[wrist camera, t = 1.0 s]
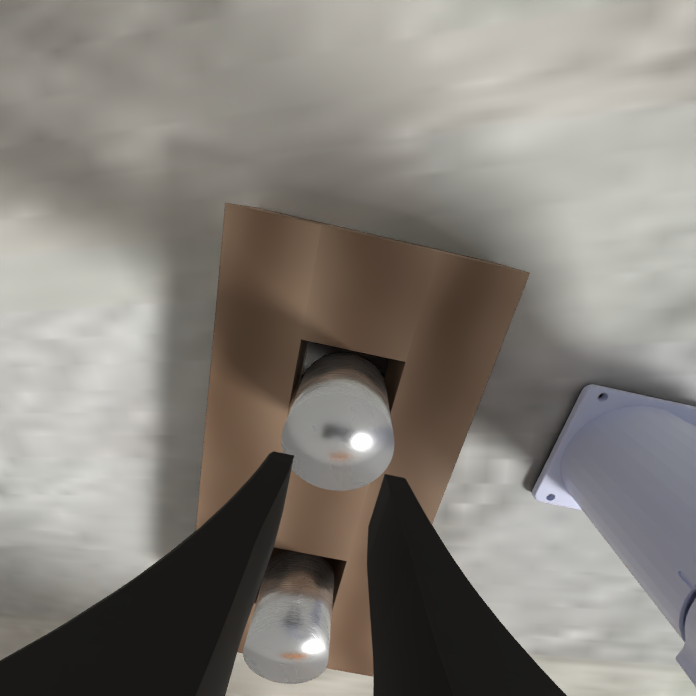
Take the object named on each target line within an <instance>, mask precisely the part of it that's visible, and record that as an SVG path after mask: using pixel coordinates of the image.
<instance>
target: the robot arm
mask: <svg viewBox="0 0 696 696" xmlns="http://www.w3.org/2000/svg"><path fill="white" fill-rule="evenodd" d="M602 393H603V396H602V397H600V398H598V396H599V395H600V394H602ZM293 459H294V455H289V454H284V453H279V452H275V451H273V452H271V453H270V454H269V455H268V456H267V457H266V459H265V460H264V462H263V463H262V464H261V465H260V467H259V468H258V469H257V470H256V472H255V473H254V474H253V475H252V476H251V477H250V478H249V480H248V481H247V482H246V483H245V484H244V485H243V486H242V487H241V488H240V489H239V490H238V491H237V492H236V493H235V495H234V496H233V497H232V498H231V499H230V500H229V501H228V502H227V503H226V504H225V505H224V506H222V507H221V508H220V509H219V510H218V511H217V512H216V513H215V514H214V515H213V516H212V517H211V518H210V519H209V520H208V521H206V522H205V523H204V524H203V525H202V526H201V527H200V528H199V529H197V530H196V531H195V532H194V533H193V534H192V535H190V536H189V537H188V538H187V539H186V540H184V541H183V542H182V543H181V544H179V545H178V546H177V547H176V548H174V549H173V550H172V551H171V552H169V553H168V554H167V555H166V556H164V557H163V558H162V559H160V560H159V561H157V562H156V563H155V564H153V565H152V566H151V567H149V568H148V569H147V570H145V571H144V572H143V573H141V574H140V575H139V576H137V577H136V578H134V579H133V580H131V581H130V582H128V583H127V584H126V585H124V586H123V587H121V588H120V589H118V590H117V591H115V592H114V593H112V594H111V595H109V596H107V597H106V598H104V599H103V600H101V601H100V602H98V603H96V604H95V605H93V606H92V607H90V608H89V609H87V610H86V611H84V612H82V613H81V614H79V615H78V616H76V617H75V618H73V619H71V620H70V621H68V622H67V623H65V624H63V625H62V626H60V627H58V628H57V629H55V630H53V631H52V632H50V633H48V634H47V635H45V636H43V637H41V638H40V639H38V640H36V641H34V642H32V643H31V644H29V645H27V646H25V647H24V648H22V649H20V650H18V651H17V652H15V653H13V654H11V655H10V656H8V657H6V658H4V659H2V660H1V661H0V696H225V694H226V690H227V687H228V683H229V679H230V676H231V672H232V669H233V665H234V661H235V658H236V654H237V651H238V648H239V645H240V642H241V639H242V635H243V632H244V630H245V627H246V624H247V621H248V618H249V616H250V613H251V610H252V607H253V604H254V602H255V599H256V596H257V593H258V590H259V588H260V585H261V582H262V579H263V576H264V574H265V571H266V568H267V565H268V562H269V559H270V557H271V554H272V551H273V548H274V545H275V541H276V537H277V533H278V529H279V525H280V521H281V518H282V514H283V510H284V504H285V499H286V494H287V489H288V484H289V479H290V474H291V469H292V464H293ZM549 494H551V495H549ZM532 495H533V496H534V498H535V499H536V500H537V501H540V502H545V503H549V504H554V505H559V506H564V507H569V508H574V509H579V510H583V512H584V513H585V514H586V516H587V517H588V518H589V519H590V521H591V522H592V523H593V525H594V526H595V527H596V528H597V530H598V531H599V532H600V534H601V535H602V536H603V537H604V539H605V540H606V541H607V543H608V544H609V545H610V547H611V548H612V549H613V550H614V552H615V553H616V554H617V556H618V557H619V558H620V559H621V561H622V562H623V563H624V565H625V566H626V567H627V568H628V570H629V571H630V572H631V574H632V575H633V576H634V578H635V579H636V580H637V581H638V583H639V584H640V585H641V587H642V588H643V589H644V590H645V592H646V593H647V594H648V596H649V597H650V598H651V599H652V601H653V602H654V603H655V605H656V606H657V607H658V609H659V610H660V611H661V612H662V614H663V615H664V616H665V618H666V619H667V620H668V621H669V623H670V624H671V625H672V627H673V628H674V629H675V630H676V632H677V633H678V634H679V636H680V637H681V638H682V640H683V641H684V642H685V644H684V647H683V648H682V650H681V651H680V653H679V654H678V655H677V656H676V660H677V662H678V663H679V664H680V666H681V667H682V669H683V670H684V671H685V673H686V674H687V675H688V677H689V678H690V680H691V681H692V682H693V684H694V685H695V686H696V407H695V406H691V405H686V404H681V403H677V402H672V401H668V400H663V399H659V398H654V397H649V396H645V395H640V394H636V393H631V392H627V391H622V390H617V389H613V388H608V387H604V386H599V385H595V384H590V385H587V386H586V387H584V388H583V390H582V391H581V393H580V395H579V397H578V399H577V401H576V403H575V405H574V407H573V409H572V411H571V413H570V415H569V417H568V419H567V421H566V423H565V426H564V428H563V430H562V432H561V434H560V436H559V438H558V440H557V442H556V444H555V446H554V448H553V450H552V452H551V454H550V456H549V458H548V460H547V462H546V464H545V466H544V468H543V470H542V472H541V474H540V476H539V478H538V480H537V482H536V484H535V486H534V488H533V490H532ZM547 495H549V496H547ZM367 575H368V591H369V606H370V621H371V635H372V650H373V673H374V696H567V695H566V694H565V693H564V692H563V691H562V690H561V689H560V688H559V687H558V686H557V685H556V684H555V683H554V682H553V681H552V680H551V679H550V677H549V676H548V675H547V674H546V673H545V672H544V671H543V670H542V669H541V668H540V667H539V666H538V665H537V663H536V662H535V661H534V660H533V659H532V658H531V657H530V656H529V654H528V653H527V652H526V651H525V650H524V649H523V648H522V647H521V645H520V644H519V643H518V642H517V641H516V640H515V639H514V637H513V636H512V635H511V634H510V633H509V632H508V630H507V629H506V628H505V627H504V626H503V624H502V623H501V622H500V621H499V620H498V618H497V617H496V616H495V615H494V613H493V612H492V611H491V609H490V608H489V607H488V606H487V604H486V603H485V602H484V601H483V599H482V598H481V597H480V596H479V594H478V593H477V592H476V590H475V589H474V588H473V586H472V585H471V584H470V582H469V581H468V579H467V578H466V577H465V575H464V574H463V572H462V571H461V569H460V568H459V566H458V565H457V564H456V562H455V561H454V559H453V558H452V556H451V555H450V553H449V552H448V550H447V548H446V547H445V545H444V544H443V542H442V540H441V539H440V537H439V536H438V534H437V532H436V531H435V529H434V527H433V526H432V524H431V522H430V521H429V519H428V517H427V516H426V514H425V512H424V510H423V509H422V507H421V505H420V503H419V502H418V500H417V498H416V496H415V494H414V493H413V491H412V489H411V487H410V485H409V484H408V482H407V480H406V479H405V478H403V477H398V476H393V475H388V474H385V475H384V478H383V481H382V484H381V488H380V491H379V494H378V497H377V500H376V504H375V507H374V510H373V513H372V517H371V520H370V523H369V526H368V545H367Z"/></svg>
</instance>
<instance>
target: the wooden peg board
mask: <svg viewBox="0 0 696 696" xmlns="http://www.w3.org/2000/svg"><path fill="white" fill-rule="evenodd" d="M529 274H530V273H528V272H525V271H521V270H518V269H514V268H511V267H508V266H504V265H501V264H497V263H494V262H490V261H485V260H481V259H477V258H472V257H468V256H464V255H459V254H455V253H451V252H446V251H442V250H438V249H433V248H429V247H425V246H420V245H416V244H412V243H407V242H403V241H399V240H394V239H390V238H386V237H381V236H377V235H373V234H368V233H364V232H360V231H355V230H351V229H346V228H342V227H338V226H333V225H329V224H325V223H320V222H316V221H312V220H307V219H303V218H299V217H294V216H290V215H286V214H281V213H277V212H273V211H268V210H264V209H260V208H255V207H249V206H242V205H236V204H229V203H225V214H224V225H223V236H222V247H221V258H220V269H219V280H218V291H217V302H216V313H215V324H214V335H213V346H212V357H211V368H210V379H209V390H208V401H207V412H206V423H205V434H204V445H203V456H202V467H201V478H200V489H199V500H198V511H197V522H196V530H197V529H199V528H200V527H201V526H202V525H203V524H204V523H205V522H206V521H208V520H209V519H210V518H211V517H212V516H213V515H214V514H215V513H216V512H217V511H218V510H219V509H220V508H221V507H222V506H224V505H225V504H226V503H227V502H228V501H229V500H230V499H231V498H232V497H233V496H234V495H235V493H236V492H237V491H238V490H239V489H240V488H241V487H242V486H243V485H244V484H245V483H246V482H247V481H248V480H249V478H250V477H251V476H252V475H253V474H254V473H255V472H256V470H257V469H258V468H259V467H260V465H261V464H262V463H263V462H264V460H265V459H266V457H267V456H268V455H269V454H270V453H271V452H273V451H275V452H279V453H283V450H282V443H281V438H282V432H283V428H284V425H285V422H286V420H287V417H288V414H289V412H290V409H291V407H292V404H293V401H294V399H295V396H296V393H297V391H298V388H299V385H300V382H301V377H302V372H303V366H304V361H305V356H306V350H307V345H308V341H311V342H316V343H320V344H325V345H329V346H334V347H339V348H343V349H348V350H352V351H357V352H362V353H366V354H371V355H376V356H380V357H385V358H389V359H390V361H389V364H388V368H387V371H386V375H385V378H384V381H385V385H386V390H387V396H388V403H389V409H390V416H391V422H392V428H393V435H394V452H393V457H392V459H391V462H390V464H389V465H388V467H387V468H386V470H385V471H384V472H383V473H382V474H381V475H380V476H379V477H378V478H377V479H375V480H374V481H373V482H371V483H369V484H367V485H365V486H363V487H360V488H356V489H352V490H344V491H334V490H327V489H323V488H319V487H317V486H314V485H312V484H310V483H308V482H306V481H305V480H303V479H302V478H300V477H299V476H298V475H297V474H296V473H295V472H294V471H293V470H292V469H291V474H290V479H289V484H288V489H287V494H286V499H285V504H284V510H283V514H282V518H281V521H280V525H279V529H278V533H277V537H276V541H275V545H274V548H273V551H272V554H271V557H270V559H269V561H270V560H271V559H272V558H273V557H274V556H276V555H278V554H279V553H282V552H285V551H290V550H291V551H296V552H301V553H306V554H312V555H317V556H320V557H322V558H323V559H325V560H326V561H327V562H328V563H329V564H330V566H331V567H332V569H333V572H334V589H333V603H332V616H331V630H330V643H329V657H328V664H327V667H326V668H328V669H334V670H340V671H345V672H351V673H356V674H362V675H368V676H373V674H374V673H373V650H372V635H371V621H370V606H369V591H368V575H367V545H368V526H369V523H370V520H371V517H372V513H373V510H374V507H375V504H376V500H377V497H378V494H379V491H380V488H381V484H382V481H383V478H384V475H385V474H388V475H393V476H398V477H403V478H405V479H406V480H407V482H408V484H409V485H410V487H411V489H412V491H413V493H414V494H415V496H416V498H417V500H418V502H419V503H420V505H421V507H422V509H423V510H424V512H425V514H426V516H427V517H428V519H429V521H430V522H431V524H432V523H433V520H434V518H435V515H436V513H437V510H438V508H439V505H440V502H441V500H442V497H443V495H444V492H445V490H446V487H447V484H448V482H449V479H450V477H451V474H452V472H453V469H454V466H455V464H456V461H457V459H458V456H459V454H460V451H461V448H462V446H463V443H464V441H465V438H466V436H467V433H468V431H469V428H470V425H471V423H472V420H473V418H474V415H475V413H476V410H477V407H478V405H479V402H480V400H481V397H482V395H483V392H484V389H485V387H486V384H487V382H488V379H489V377H490V374H491V371H492V369H493V366H494V364H495V361H496V359H497V356H498V354H499V351H500V348H501V346H502V343H503V341H504V338H505V336H506V333H507V330H508V328H509V325H510V323H511V320H512V318H513V315H514V312H515V310H516V307H517V305H518V302H519V300H520V297H521V294H522V292H523V289H524V287H525V284H526V282H527V279H528V277H529ZM262 580H263V579H262ZM261 584H262V582H261ZM260 587H261V585H260ZM259 591H260V588H259V590H258V593H257V596H256V599H255V602H254V604H253V607H252V610H251V613H250V616H249V618H248V621H247V624H246V627H245V630H244V632H243V635H242V639H241V642H240V645H239V648H238V651H237V652H239V653H243V649H244V645H245V642H246V638H247V634H248V631H249V627H250V624H251V620H252V616H253V613H254V609H255V605H256V602H257V598H258V594H259Z"/></svg>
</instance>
